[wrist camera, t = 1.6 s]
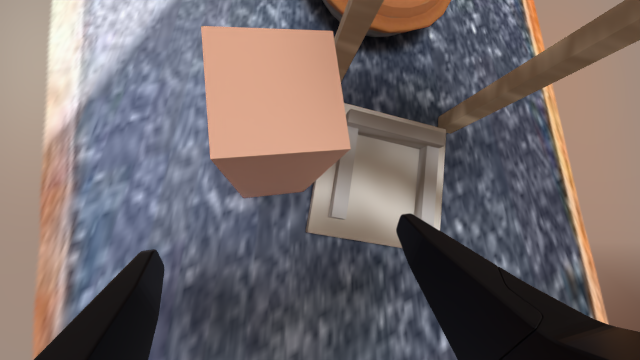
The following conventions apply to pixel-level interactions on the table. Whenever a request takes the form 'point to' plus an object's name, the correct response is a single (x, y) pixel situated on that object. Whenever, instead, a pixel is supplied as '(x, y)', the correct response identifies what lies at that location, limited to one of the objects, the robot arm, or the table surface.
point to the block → (273, 107)
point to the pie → (396, 15)
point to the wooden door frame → (431, 131)
